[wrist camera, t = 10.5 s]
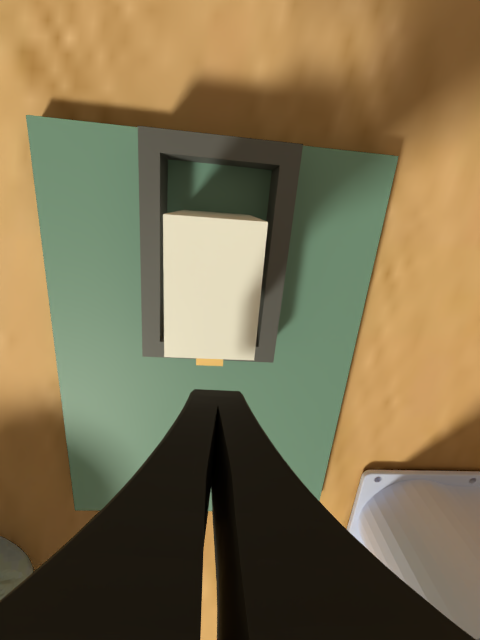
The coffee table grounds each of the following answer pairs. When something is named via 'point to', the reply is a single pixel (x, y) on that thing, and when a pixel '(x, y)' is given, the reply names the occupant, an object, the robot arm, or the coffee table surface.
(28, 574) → the grey-green cup
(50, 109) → the coffee table surface
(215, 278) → the cream rectangular block
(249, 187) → the board
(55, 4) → the coffee table surface
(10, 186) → the coffee table surface
